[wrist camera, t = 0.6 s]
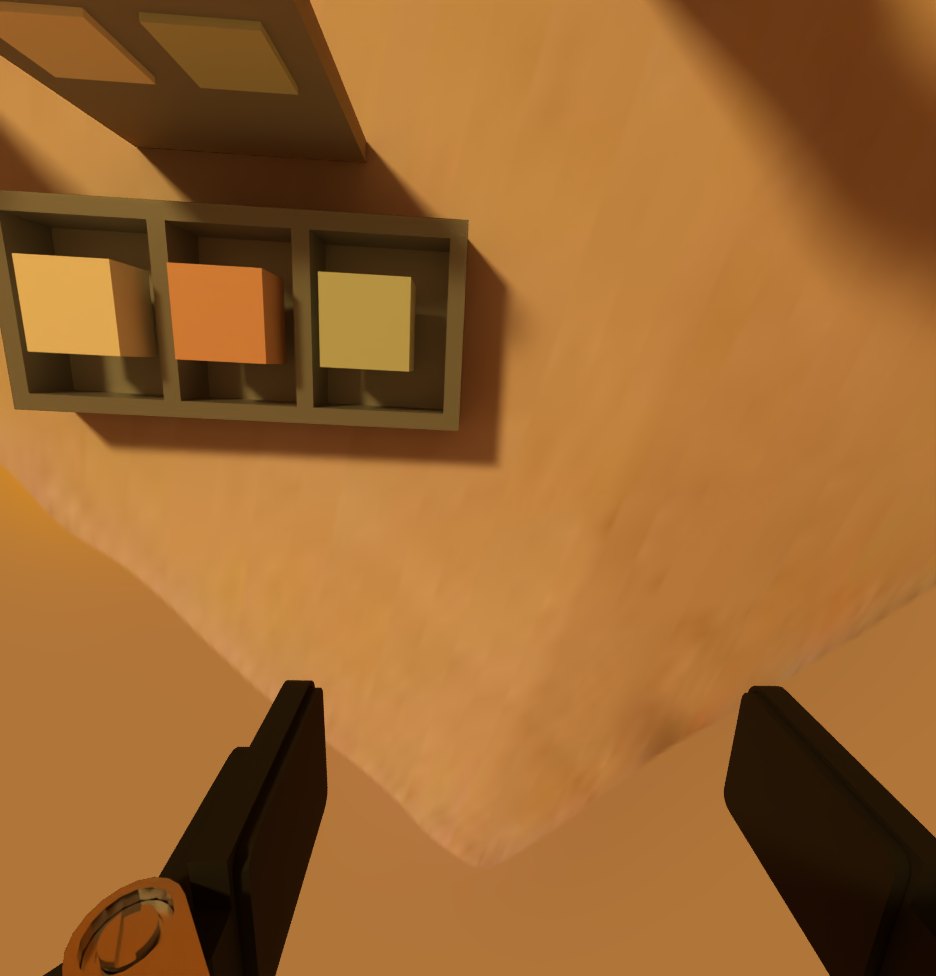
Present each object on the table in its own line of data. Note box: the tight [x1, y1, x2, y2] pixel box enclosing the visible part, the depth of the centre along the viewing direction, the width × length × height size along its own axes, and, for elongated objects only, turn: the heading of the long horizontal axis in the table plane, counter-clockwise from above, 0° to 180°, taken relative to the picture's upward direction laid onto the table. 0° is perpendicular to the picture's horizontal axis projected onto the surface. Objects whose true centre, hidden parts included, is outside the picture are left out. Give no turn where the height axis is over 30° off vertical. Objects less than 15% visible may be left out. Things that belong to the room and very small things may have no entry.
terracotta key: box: [167, 262, 287, 364], centre depth 28 cm, size 5×5×3 cm
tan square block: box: [12, 253, 157, 357], centre depth 28 cm, size 5×5×3 cm
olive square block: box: [318, 271, 416, 372], centre depth 29 cm, size 5×5×3 cm
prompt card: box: [0, 0, 366, 163], centre depth 23 cm, size 2×14×14 cm, turn 87°
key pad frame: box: [0, 190, 469, 431], centre depth 31 cm, size 12×27×4 cm, turn 87°
